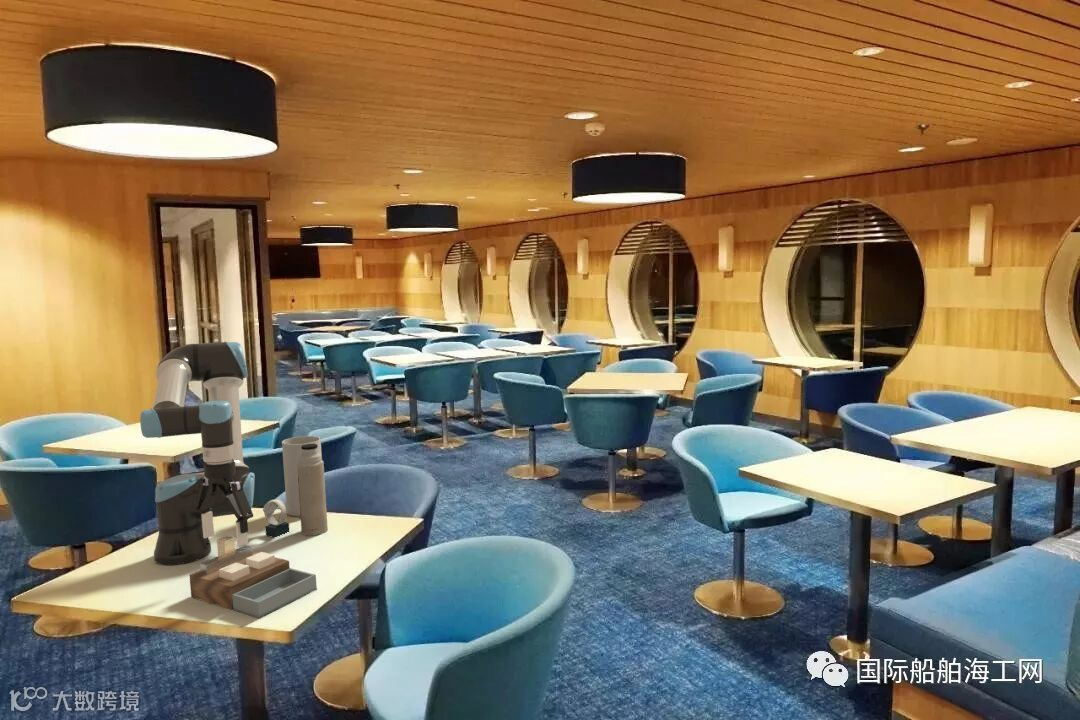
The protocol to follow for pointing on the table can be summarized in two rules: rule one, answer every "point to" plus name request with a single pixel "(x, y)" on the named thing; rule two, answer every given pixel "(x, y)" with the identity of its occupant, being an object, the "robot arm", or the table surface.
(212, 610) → the table surface
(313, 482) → the thermos bottle
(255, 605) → the box
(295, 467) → the cylinder vase
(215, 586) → the wood grain panel
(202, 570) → the gray bar with knob
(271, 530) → the watch
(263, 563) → the tile
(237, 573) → the tile
